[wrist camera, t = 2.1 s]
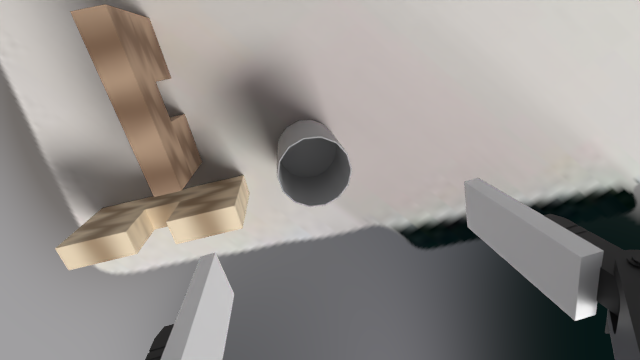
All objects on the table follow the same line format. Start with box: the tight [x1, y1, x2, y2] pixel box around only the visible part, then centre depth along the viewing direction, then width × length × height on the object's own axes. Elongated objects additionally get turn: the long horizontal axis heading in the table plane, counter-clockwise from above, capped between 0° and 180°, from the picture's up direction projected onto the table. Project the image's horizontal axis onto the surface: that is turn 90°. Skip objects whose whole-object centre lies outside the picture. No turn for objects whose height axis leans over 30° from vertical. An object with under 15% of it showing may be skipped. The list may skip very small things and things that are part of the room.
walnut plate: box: [70, 4, 202, 197], centre depth 35 cm, size 18×3×10 cm, turn 11°
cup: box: [277, 120, 352, 207], centre depth 40 cm, size 8×8×10 cm
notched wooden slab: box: [55, 175, 249, 270], centre depth 40 cm, size 20×3×10 cm, turn 101°
